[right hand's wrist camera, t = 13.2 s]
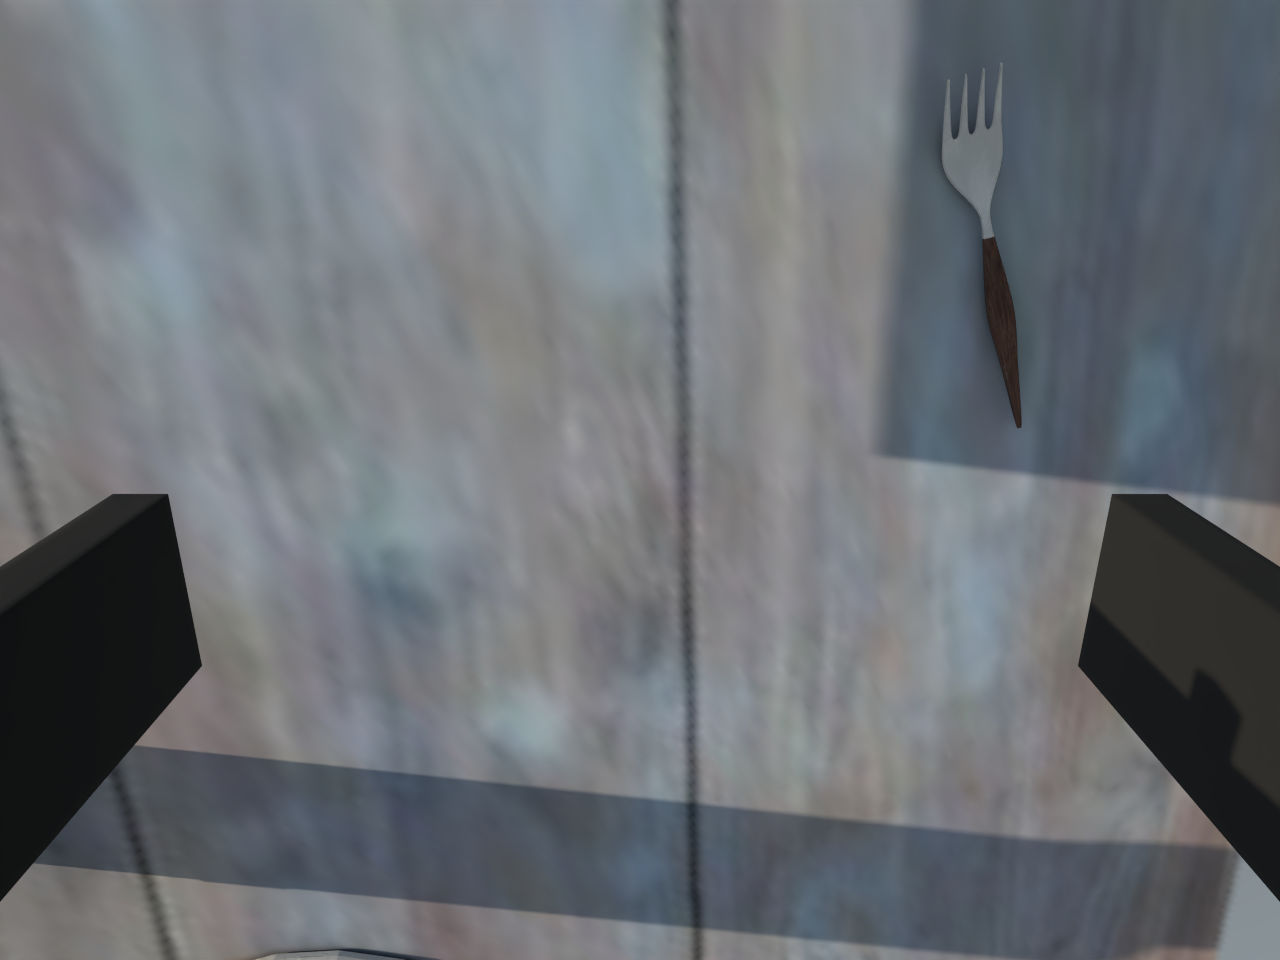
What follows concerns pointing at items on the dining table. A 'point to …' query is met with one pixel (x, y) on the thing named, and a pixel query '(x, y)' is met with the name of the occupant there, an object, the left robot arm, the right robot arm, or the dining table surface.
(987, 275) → the fork
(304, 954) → the wall clock
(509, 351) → the dining table surface
